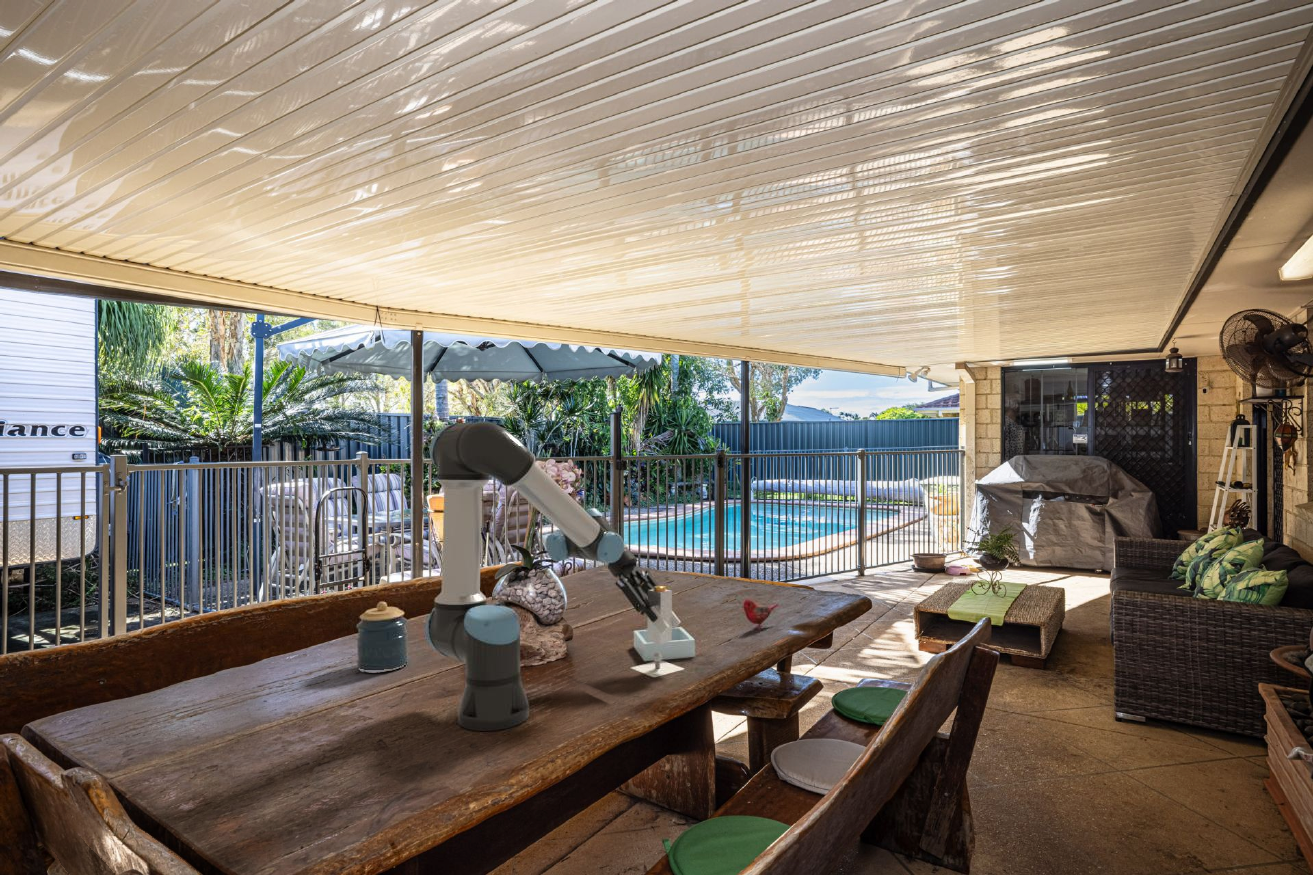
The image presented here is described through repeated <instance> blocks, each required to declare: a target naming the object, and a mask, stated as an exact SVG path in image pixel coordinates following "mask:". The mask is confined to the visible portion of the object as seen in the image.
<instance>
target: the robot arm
mask: <svg viewBox="0 0 1313 875" xmlns="http://www.w3.org/2000/svg"><path fill="white" fill-rule="evenodd" d="M430 441H431V442H430V444H429V457H430V460H431V463H432V464H433V465H434V467H435V469H437V482H438V483H439V484H440V485H441V486H442V487H443V518H442V519H443V522H442V525H443V526H442V560H441V561H442V562H441V565H442V566H441V568H442V570H441V590H440V593H439V594H438V595H437V596H436V597H435V598H434V608H432V610H431V612H430V613H429V614H428V616H427V618H426V621H425V625H424V632H425V637H426V640H427V641H428V642H427V643H428V644H429V645H430V646H431V647H432V649H434V650H435V651H436V652H438V653H439V654H441V656H444V657H447V658H452V659H455V660H458V661H460V662H463V663H464V664H465V688H464V690H463V694H462V696H461V700H460V703H459V706H458V711H457V723H458V725H459V726H460V725H461V726H460V727H462V728H463V727H464V728H463V729H465V730H469V731H477V732H490V731H493V732H494V731H501V730H505V729H509V728H514V727H516V726H518V725H520V724H522V723H524V722H526V720H528V718H529V717H530V703H529V701H528V698H527V695H526V692H525V689H524V687H523V684H522V680H521V639H520V638H521V631H522V630H521V625H520V619H519V618H520V617H519V615H518V613H517V612H516V611H515V610H514V609H512V608H510V607H508V606H504V605H496V604H487V597H486V595H485V594H483V592H482V591H481V590H480V588H481V553H482V552H481V550H482V546H481V545H482V504H483V503H482V502H483V501H482V499H483V496H482V495H483V494H482V493H483V487H485V486H486V484H488V482H489V481H490V477H492V478H494V479H496V480H497V481H498V482H500V484H502V486H503V485H504V487H512V488H514V490H515V491H517V493H518V494H520V495H521V496H522V497H523V498H524V499H525V500H526V501H528V503H529V504H531V505H532V506H533V507H534V508H535V509H537V510H538V511H539V512H540V513H541V514H542V515H543V516H544V517H545V518H546V519H547V520H549V522H550V523H552V524H553V525H554V526H556V528H557V529H558V530H556V531H554V532H552V533H550V534H549V535H547V537H546V540H545V548H546V549H545V550H546V553H547V554H548V556H549V558H550V559H551V560H553V561H554V562H562V561H566V560H568V559H569V558H574V559H581V560H588V561H593V562H599V563H602V564H604V565H605V566H607V569H608V571H609V572H610V573H611V575H612V576H613V577H614V578H618V579H617V580H616V581H615V582H614V584H615V585H616V586H617V587H618V589H620V591H622V593H623V594H624V596H625V597H626V598H627V600H628V601H629V602H630V604H631V605H632V606H633V608H634V609H635V611H636V612H638V613H640V615H642V616H644V615H646V616H647V618H648V617H649V619H650V620H651V621H652V622H653V623H654V625H655V626H656V627H657V629H658V630H659V631H660V633H661V634H662V633H664V632H665V630H666V629H667V628H668V627H669V625H668V624H667V623H666V622H665V620H664V619H663V618H662V616H661V615H660V614H659V612H658V611H657V610H656V608H655V607H654V606H653V607H651V605H650V603H649V601H648V590H651V589H654V586H660V584H659V583H658V582H657V581H656V579H655V578H654V577H653V576H652V574H651V572H650V570H648V569H646V570H645V571H644V570H642V569H641V568H640V567H638V566H637V562H638V560H637V557H636V556H635V555H634V554H633V553H632V551H631V550H630V549H629V547H628V546H627V545H626V543H625V542H624V539H623V538H622V535H620V534H619V533H617V532H616V531H615V529H614V528H613V527H612V525H611V524H610V523H609V521H608V520H607V518H606V516H604V515H603V514H602V512H600V511H599V509H598V508H594V507H590V508H587V509H586V510H585V509H584V508H583V507H582V506H581V505H580V504H579V503H578V502H577V501H576V500H575V499H574V498H573V497H572V496H571V495H569V494H568V492H567V491H565V490H564V489H563V488H562V487H561V486H560V485H559V484H558V483H557V481H555V479H553V478H552V476H550V475H549V474H548V473H547V472H546V471H545V470H544V469H543V468H542V467H541V466H540V465H539V464H538V463H537V462H536V456H535V454H534V453H533V452H532V451H531V450H529V448H527V447H526V445H524V444H523V443H522V442H521V441H520V440H519V439H518V438H517V437H515V436H514V435H513V434H512V433H511V432H509V431H508V430H506V429H505V428H504V427H502V426H500V425H497V424H495V423H493V422H489V421H477V422H455V423H453V424H447V425H445V426H443V427H442V428H440V429H439V430H438V431H437V432H436V433H435V434H434V435H433V437H432V439H431V440H430ZM650 607H651V608H650ZM680 623H682V622H681V620H680V619H679V618H678V616H677V615H676V613H675V612H674V611H673V610H672V628H673V629H674V628H676V627H678V626H679V624H680Z"/></svg>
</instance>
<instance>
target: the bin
mask: <svg viewBox="0 0 1313 875" xmlns="http://www.w3.org/2000/svg"><path fill="white" fill-rule="evenodd" d="M633 647H634V649H635V651H636V652H637V653H638V655H639V656H640V657H641V659H642V661H644V662H650V661H652V662H654V661H655V660H654V659H653V655H654V654H655V653H660V654H661V656H662V658H661V660H662V661H665V660H673V659H674V660H675V659H686V658H695V657H696V640H695V638H694V637H693V636H691V635H690V633H689V632H688V631H686V630H685V629H684V628H683V627H682V626H680V627H679V626H676V627H675V628H674V629H673V628H672V638H671V641H670V642H666V643H663V644H657V643H653V642H649V641H647V629H639V630H633Z"/></svg>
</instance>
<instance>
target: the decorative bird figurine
mask: <svg viewBox="0 0 1313 875" xmlns="http://www.w3.org/2000/svg"><path fill="white" fill-rule="evenodd" d="M778 606H779V603H776V604H774V605H772V606H769V607H768V606H765V605H761V604H756V603H755V602H754V600H751V599H745V600H744V602H743V606H742V609H743V610H744V612H745V616H746V619H747V620H748V621H749V622H750V623H752V624H754V625H757V626H755V627H754V628H752V630H758V629H760V628H761V627H762V628H763V625H762V623H764V622H765V621H766V620H767V619H768V618H769V617H770V614H771V613H772V611H773V610H774V609H775V608H777V607H778Z"/></svg>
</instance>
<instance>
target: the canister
mask: <svg viewBox="0 0 1313 875" xmlns="http://www.w3.org/2000/svg"><path fill="white" fill-rule="evenodd" d="M404 615H405V611H404V610H401V609H400V608H399V607H395V606H388V604H387V602H385V601H379V602H378V603H377V605H376V607H375V608H370V609H367V610H366V611H364V613H362V614H361V615H359V619H360V621H359V622H358V623H357V624H356V626H355V627H356V629H357V630H358V635H357V637H356V641H357V644H356V645H357V646H356V648H357V660H356V662H357V664H356V666H357V668H358V667H359V668H360V669H364V670H384V669H393V668H396V667H400V666H402V665H404V664H406V662H407V663H408V660H409V653H408V635H409V634H408V631H407V629H406V628H407V626H406V625H407V624H408V622H409V621H408V619H407V618H405V617H404Z"/></svg>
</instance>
